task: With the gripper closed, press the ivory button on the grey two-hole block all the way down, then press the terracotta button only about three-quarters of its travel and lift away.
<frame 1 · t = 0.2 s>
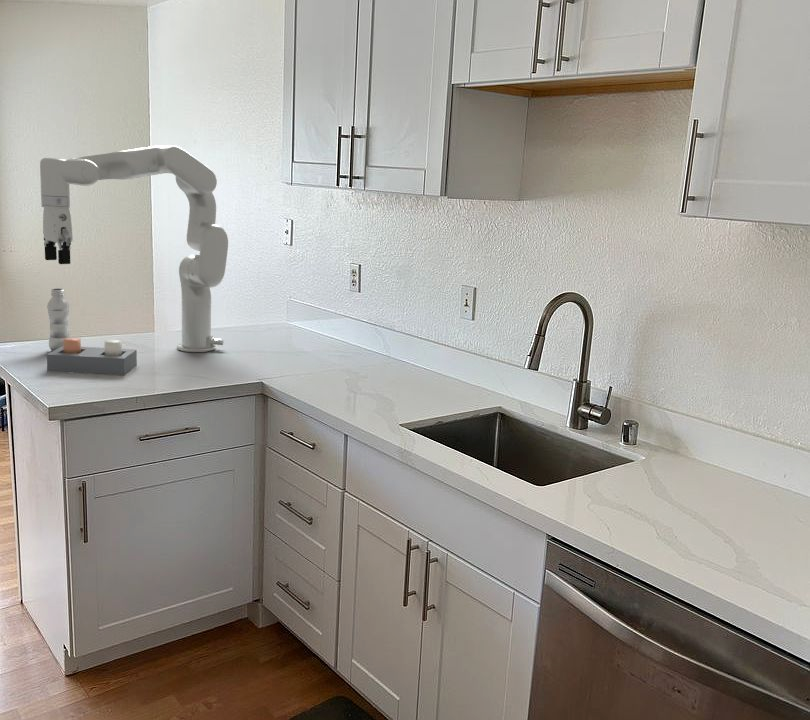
hand: (57, 261, 231), 31 cm above the worktop, tool pointing down, fingers open, 9 cm apart
terracotta button: (72, 347, 233), point 6 cm above the worktop, slide at 0.0 cm
ivory button: (113, 349, 234), point 6 cm above the worktop, slide at 0.0 cm
plastic bottle: (60, 352, 252), on the worktop
grey two-hole block: (93, 368, 235), on the worktop
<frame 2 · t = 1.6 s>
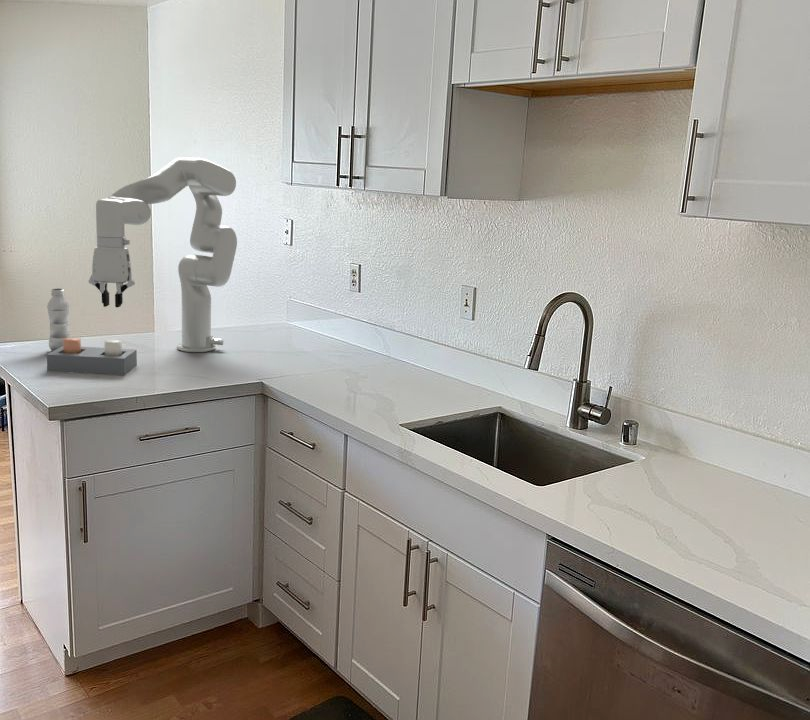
hand: (112, 305, 231), 19 cm above the worktop, tool pointing down, fingers closed
nothing on the worktop moved.
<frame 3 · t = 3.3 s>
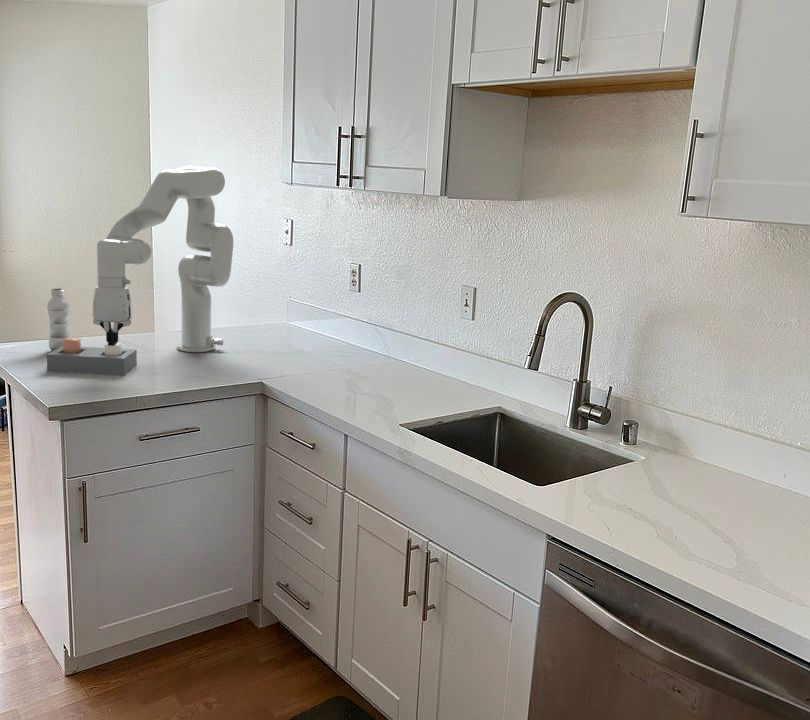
hand: (112, 344, 233), 8 cm above the worktop, tool pointing down, fingers closed
ivory button: (113, 352, 234), point 5 cm above the worktop, slide at 0.9 cm, touching gripper
everything else where it was.
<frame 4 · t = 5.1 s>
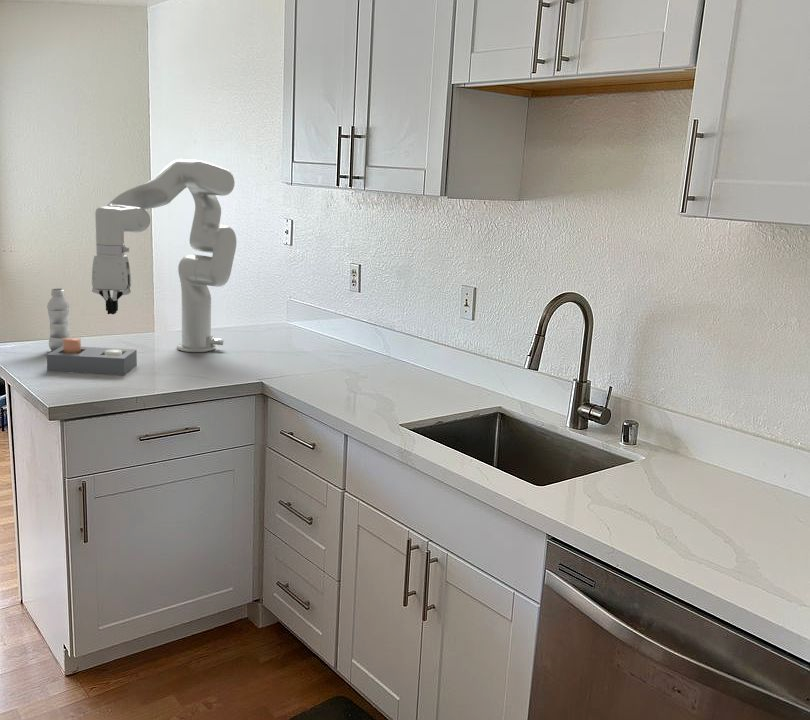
hand: (112, 313, 231), 17 cm above the worktop, tool pointing down, fingers closed
ivory button: (113, 359, 234), point 3 cm above the worktop, slide at 3.0 cm
everything else where it was.
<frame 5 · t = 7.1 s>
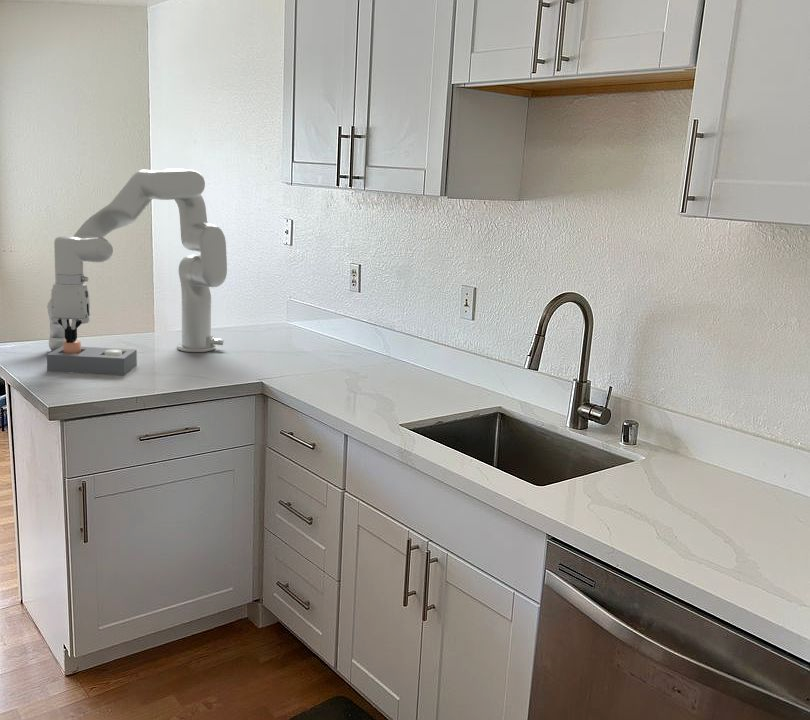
hand: (71, 341, 232), 8 cm above the worktop, tool pointing down, fingers closed
terracotta button: (72, 350, 233), point 5 cm above the worktop, slide at 0.7 cm, touching gripper
everything else where it was.
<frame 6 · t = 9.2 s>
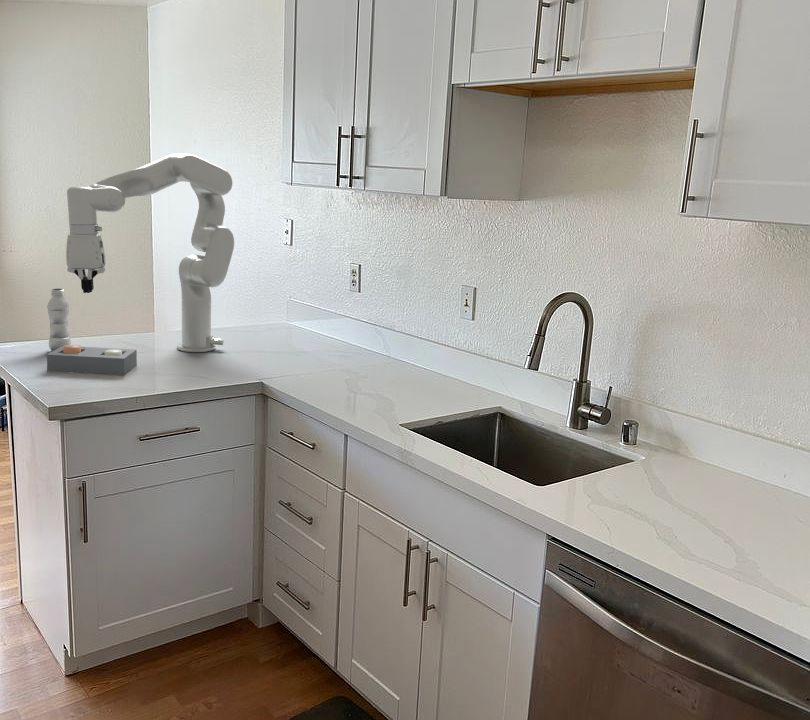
hand: (87, 292, 235), 22 cm above the worktop, tool pointing down, fingers closed
terracotta button: (72, 354, 234), point 4 cm above the worktop, slide at 2.1 cm
everything else where it was.
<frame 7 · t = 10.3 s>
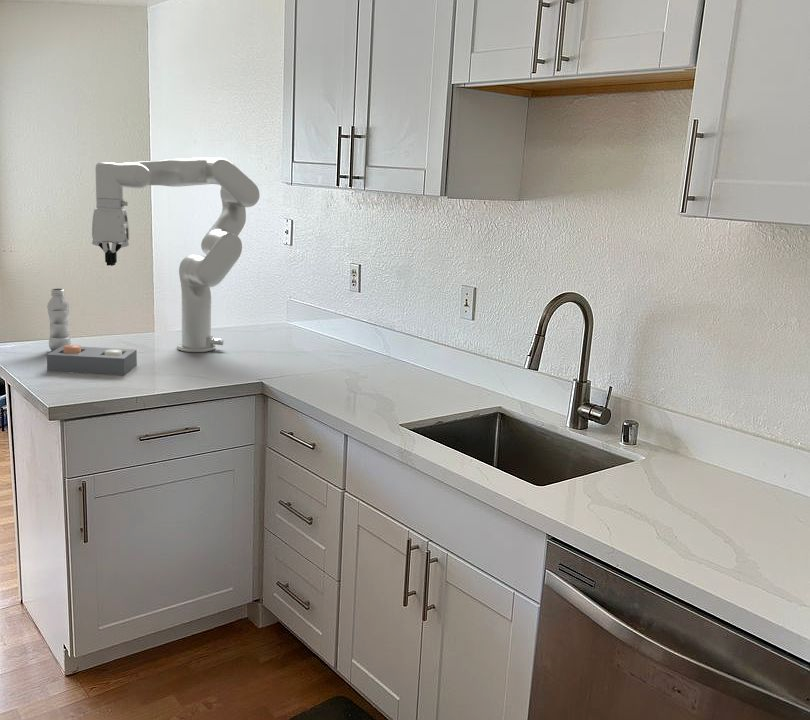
hand: (111, 265, 243), 29 cm above the worktop, tool pointing down, fingers closed
nothing on the worktop moved.
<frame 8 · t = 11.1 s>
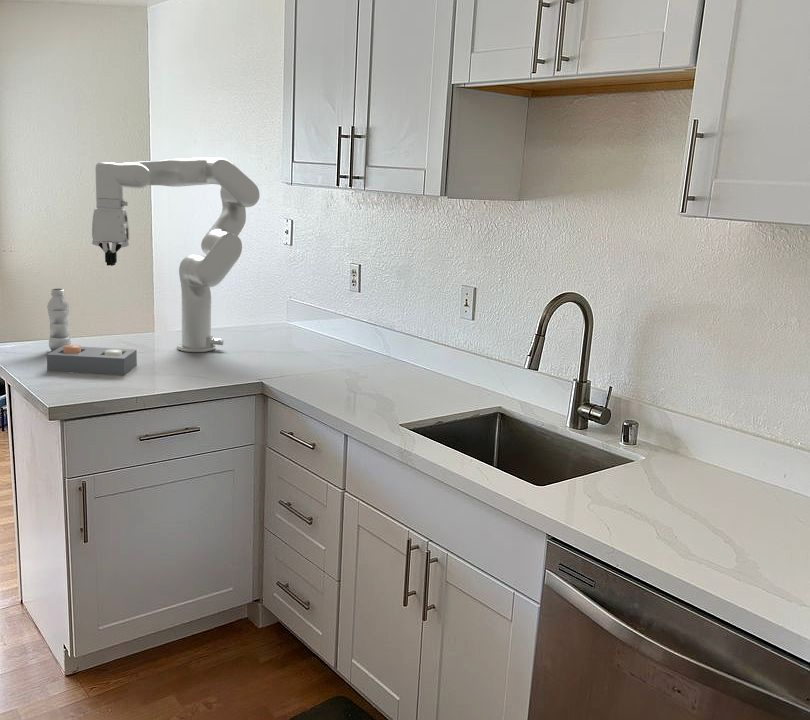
hand: (111, 265, 243), 29 cm above the worktop, tool pointing down, fingers closed
nothing on the worktop moved.
at the end: ivory button slide at 3.0 cm; terracotta button slide at 2.1 cm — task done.
